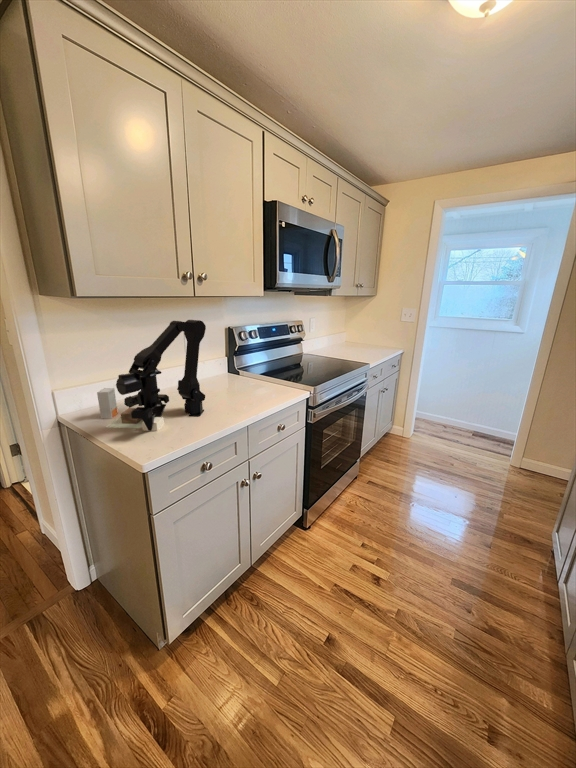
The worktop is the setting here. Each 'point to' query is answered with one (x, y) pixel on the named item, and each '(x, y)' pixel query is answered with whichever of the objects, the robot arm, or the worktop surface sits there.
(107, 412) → the skincare box
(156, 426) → the brick cream
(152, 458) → the worktop surface
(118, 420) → the baseplate
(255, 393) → the worktop surface
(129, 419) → the brick walnut
